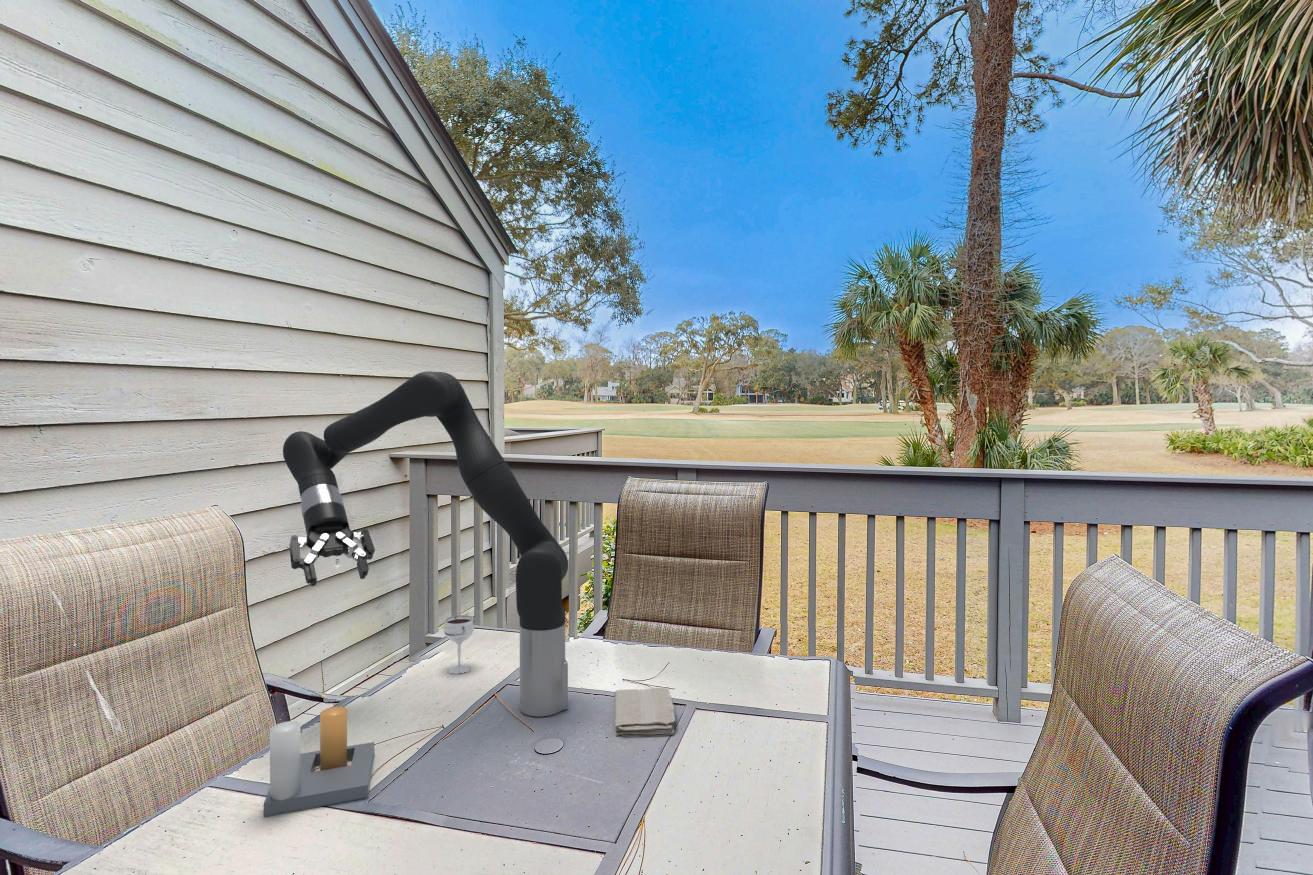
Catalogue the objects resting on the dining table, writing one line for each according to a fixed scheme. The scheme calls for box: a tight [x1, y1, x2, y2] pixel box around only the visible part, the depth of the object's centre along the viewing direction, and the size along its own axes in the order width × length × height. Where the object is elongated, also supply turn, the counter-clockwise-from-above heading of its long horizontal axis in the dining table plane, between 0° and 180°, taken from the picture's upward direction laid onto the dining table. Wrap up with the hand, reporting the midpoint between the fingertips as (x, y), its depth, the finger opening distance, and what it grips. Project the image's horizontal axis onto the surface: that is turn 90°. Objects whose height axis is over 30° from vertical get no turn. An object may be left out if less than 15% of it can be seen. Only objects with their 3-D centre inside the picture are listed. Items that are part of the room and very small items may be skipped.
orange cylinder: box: [319, 706, 348, 771], centre depth 105 cm, size 4×4×10 cm
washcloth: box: [613, 687, 676, 738], centre depth 126 cm, size 12×18×3 cm, turn 5°
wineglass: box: [443, 614, 475, 675], centre depth 148 cm, size 7×7×12 cm
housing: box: [263, 720, 375, 818], centre depth 102 cm, size 14×14×12 cm
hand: (339, 579), depth 118 cm, fingers open, 8 cm apart
